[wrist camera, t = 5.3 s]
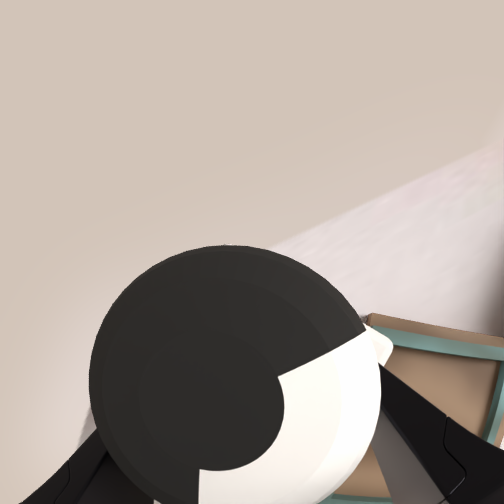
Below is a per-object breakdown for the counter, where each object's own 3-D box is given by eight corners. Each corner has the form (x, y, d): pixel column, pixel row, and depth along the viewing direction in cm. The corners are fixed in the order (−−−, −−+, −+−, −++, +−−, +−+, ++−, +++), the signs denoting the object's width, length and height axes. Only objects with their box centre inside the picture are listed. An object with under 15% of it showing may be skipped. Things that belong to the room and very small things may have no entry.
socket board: (448, 534, 11) (456, 543, 9) (291, 536, 15) (290, 549, 13) (516, 342, 17) (531, 339, 15) (368, 314, 20) (376, 310, 18)
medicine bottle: (183, 381, 16) (16, 399, 5) (252, 283, 17) (176, 151, 6) (284, 450, 14) (261, 596, 2) (356, 348, 15) (483, 325, 4)
